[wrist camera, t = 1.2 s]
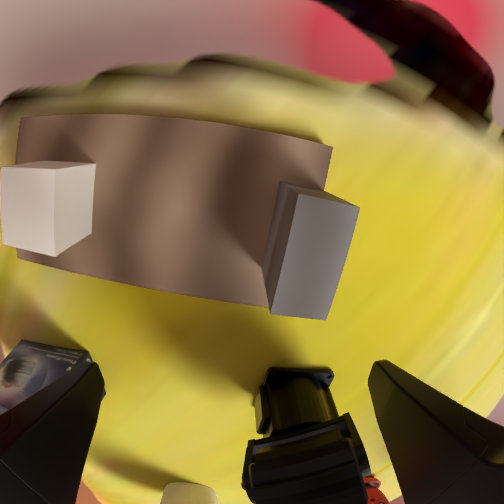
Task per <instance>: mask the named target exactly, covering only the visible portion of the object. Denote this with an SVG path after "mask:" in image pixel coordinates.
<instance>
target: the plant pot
mask: <svg viewBox="0 0 504 504" xmlns="http://www.w3.org/2000/svg"><path fill="white" fill-rule="evenodd" d="M363 480H364V484H365V487H366V491H367V494H368V503H367V504H390V503H389V501H388V500H387V498H386V497H385V495H384V494H383V493H382V492H381V491H380V490H379V489H378V488H379V487H380V485H381V482H380V481H379V480H378V479H376V478H372V477H365V478H363Z"/></svg>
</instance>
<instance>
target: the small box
mask: <svg viewBox="0 0 504 504" xmlns="http://www.w3.org/2000/svg"><path fill="white" fill-rule="evenodd" d="M85 361H91V362H93V361H92V359H91V356H90V354H89V352H86V351H79V350H72V349H66V348H60V347H55V346H49V345H44V344H39V343H34V342H30V341H26V340H21V341H20V342H19V343H18V345H17V346H16V347H15V348H14V349H13V350H12V351H11V352H10V353H9V355H8V356H7V357H6V358H5V359H4V360H3V361H2V363H1V364H0V415H1V414H3V413H4V412H6V411H8V410H9V409H11V408H13V407H14V406H16V405H17V404H19V403H20V402H22V401H23V400H25V399H27V398H28V397H30V396H31V395H33V394H34V393H36V392H38V391H39V390H41V389H42V388H44V387H45V386H47V385H49V384H50V383H52V382H53V381H55V380H56V379H58V378H60V377H61V376H63V375H64V374H66V373H67V372H69V371H70V370H72V369H74V368H75V367H77V366H78V365H80V364H81V363H83V362H85ZM105 395H106V392H105V389H104V391H103V395H102V399H103V398H104V396H105ZM101 401H102V400H101Z"/></svg>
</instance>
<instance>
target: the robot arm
mask: <svg viewBox="0 0 504 504" xmlns="http://www.w3.org/2000/svg"><path fill="white" fill-rule="evenodd" d="M272 372H275V373H272ZM328 375H329V376H328ZM333 378H334V373H333V371H331V370H308V369H290V368H277V367H272V368H269V369H268V371H267V374H266V377H265V380H264V384H263V385H261V386H260V387H259V389H258V392H257V396H256V399H255V402H254V403H255V417H256V431H257V433H258V434H263V438H262V439H257V440H255V439H252V440H248V446H247V448H246V454H245V461H244V468H243V474H242V483H241V485H242V488H243V489H244V490H246V492H247V495H248V497H249V499H250V500H251V502H252V503H254V504H367V503H368V494H367V491H366V487H365V484H364V480H363V478H364V477H367V476H369V475H371V470H370V465H369V461H368V458H367V454H366V451H365V448H364V446H363V443H362V440H361V438H360V436H359V434H358V431H357V429H356V427H355V425H354V423H353V420H352V418H351V416H350V414H349V412H348V413H345V414H343V415H342V416H340V417H339V415H338V412H337V409H336V406H335V403H334V400H333V397H332V395H331V392H330V389H329V386H330V384H331V382H332V380H333ZM104 385H105V383H104V379H103V376H102V374H101V371H100V369H99V366H98V364H97V363H95V362H91V361H85V362H83V363H81V364H80V365H78V366H77V367H75V368H74V369H72V370H70V371H69V372H67V373H66V374H64V375H63V376H61V377H60V378H58V379H56V380H55V381H53V382H52V383H50V384H49V385H47V386H45V387H44V388H42V389H41V390H39V391H38V392H36V393H34V394H33V395H31V396H30V397H28V398H27V399H25V400H23V401H22V402H20V403H19V404H17V405H16V406H14V407H13V408H11V409H9V410H8V411H6V412H4V413H3V414H1V415H0V504H75V502H76V498H77V493H78V489H79V485H80V481H81V477H82V473H83V469H84V465H85V461H86V458H87V454H88V451H89V447H90V444H91V440H92V437H93V434H94V430H95V427H96V424H97V419H98V415H99V409H100V405H101V400H102V395H103V391H104ZM368 387H369V390H370V394H371V398H372V402H373V406H374V410H375V415H376V418H377V422H378V425H379V428H380V431H381V433H382V436H383V439H384V442H385V444H386V447H387V450H388V453H389V456H390V459H391V462H392V465H393V468H394V470H395V473H396V476H397V480H398V483H399V486H400V489H401V492H402V495H403V498H404V502H405V504H504V427H503V426H501V425H499V424H497V423H494V422H492V421H490V420H488V419H486V418H484V417H482V416H480V415H478V414H477V413H475V412H473V411H471V410H469V409H468V408H466V407H463V406H462V405H461V404H459V403H457V402H456V401H454V400H452V399H451V398H449V397H447V396H446V395H444V394H442V393H441V392H439V391H437V390H436V389H434V388H432V387H431V386H429V385H427V384H426V383H424V382H422V381H421V380H419V379H417V378H416V377H414V376H412V375H411V374H409V373H407V372H406V371H404V370H403V369H401V368H399V367H398V366H396V365H394V364H393V363H391V362H390V361H388V360H379V361H375V362H374V364H373V366H372V369H371V372H370V375H369V378H368Z"/></svg>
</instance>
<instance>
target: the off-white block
mask: <svg viewBox="0 0 504 504" xmlns="http://www.w3.org/2000/svg"><path fill="white" fill-rule="evenodd" d="M95 169H96V164H94V163H80V162H62V161H38V162H31V163H24V164H18V165H11V166H6V167H1V183H0V207H1V229H2V241H3V244H4V245H8V246H12V247H16V248H20V249H24V250H28V251H32V252H36V253H41V254H45V255H49V256H54V257H56V256H57V255H59V254H60V253H62V252H63V251H65V250H66V249H68V248H69V247H71V246H72V245H74V244H75V243H77V242H78V241H80V240H82V239H83V238H85V237H86V236H88V235H89V234H91V233H92V209H93V192H94V179H95Z"/></svg>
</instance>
